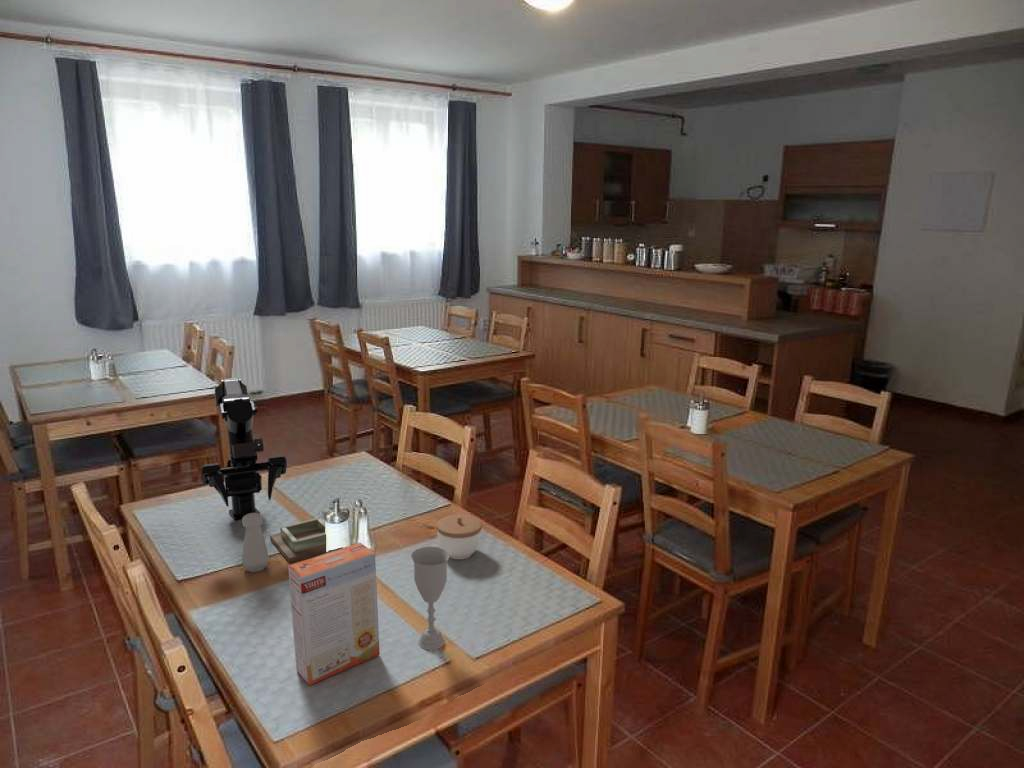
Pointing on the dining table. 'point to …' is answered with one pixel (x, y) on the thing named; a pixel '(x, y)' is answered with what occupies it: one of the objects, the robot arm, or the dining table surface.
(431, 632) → the chalice
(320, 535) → the stand
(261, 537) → the salt shaker
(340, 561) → the cracker box
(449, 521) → the lidded jar
